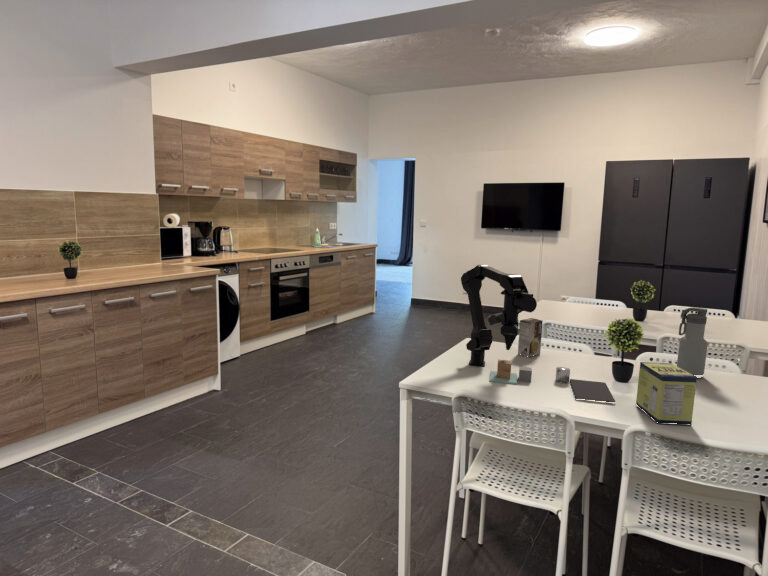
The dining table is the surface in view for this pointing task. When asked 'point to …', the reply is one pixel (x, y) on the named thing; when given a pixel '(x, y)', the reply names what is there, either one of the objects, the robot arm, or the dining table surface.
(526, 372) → the dark grey plastic block
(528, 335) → the coffee box
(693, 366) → the water bottle
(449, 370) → the dining table surface
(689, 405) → the protein box
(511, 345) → the robot arm
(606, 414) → the dining table surface
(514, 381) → the teal mat
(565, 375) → the grey metal cylinder
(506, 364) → the walnut block
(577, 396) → the notebook
